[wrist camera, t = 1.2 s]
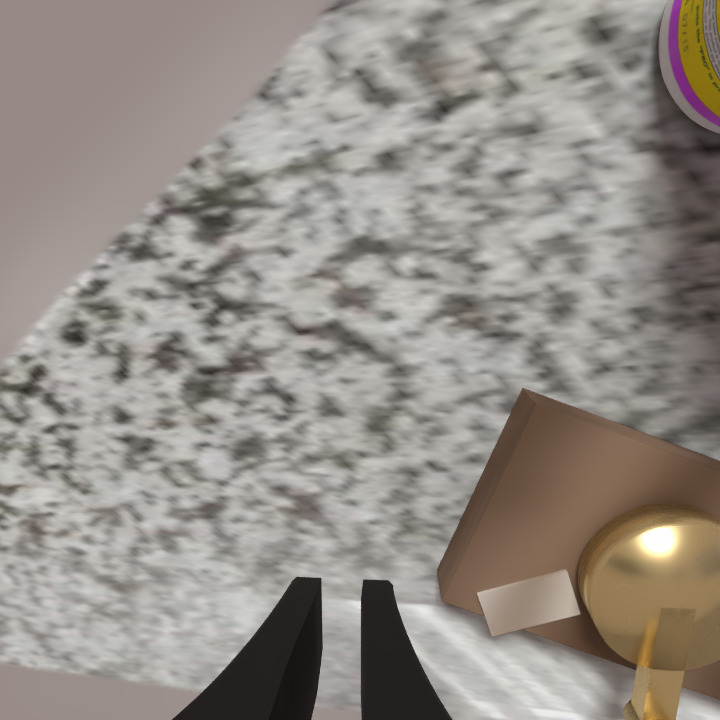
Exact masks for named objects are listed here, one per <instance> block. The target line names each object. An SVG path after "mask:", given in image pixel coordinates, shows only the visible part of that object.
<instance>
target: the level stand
mask: <svg viewBox="0 0 720 720" xmlns="http://www.w3.org/2000/svg"><path fill="white" fill-rule="evenodd" d="M657 503H676V504H684V505H688V506H692V507H695V508H698V509H701V510H703V511H705V512H707V513H709V514H711V515H712V516H714V517H715V518H717V519H718V520H719V521H720V461H718V460H715V459H713V458H710V457H707V456H705V455H702V454H699V453H697V452H694V451H691V450H688V449H686V448H683V447H680V446H678V445H675V444H672V443H670V442H667V441H664V440H661V439H659V438H656V437H653V436H651V435H648V434H645V433H643V432H640V431H637V430H635V429H632V428H629V427H626V426H624V425H621V424H618V423H616V422H613V421H610V420H608V419H605V418H602V417H599V416H597V415H594V414H591V413H589V412H586V411H583V410H581V409H578V408H575V407H572V406H570V405H567V404H564V403H562V402H559V401H556V400H554V399H551V398H548V397H546V396H543V395H540V394H537V393H535V392H532V391H529V390H527V389H524V388H522V391H521V393H520V395H519V397H518V399H517V401H516V403H515V405H514V408H513V410H512V412H511V414H510V416H509V418H508V420H507V422H506V425H505V427H504V429H503V431H502V433H501V435H500V437H499V439H498V442H497V444H496V446H495V448H494V450H493V452H492V454H491V456H490V459H489V461H488V463H487V465H486V467H485V469H484V471H483V474H482V476H481V478H480V480H479V482H478V484H477V486H476V488H475V491H474V493H473V495H472V497H471V499H470V501H469V503H468V505H467V508H466V510H465V512H464V514H463V516H462V518H461V520H460V522H459V525H458V527H457V529H456V531H455V533H454V535H453V537H452V539H451V542H450V544H449V546H448V548H447V550H446V552H445V554H444V556H443V559H442V561H441V563H440V565H439V567H438V569H437V571H438V578H439V585H440V592H441V599H442V601H443V602H446V603H449V604H452V605H454V606H457V607H460V608H463V609H466V610H468V611H471V612H474V613H477V614H480V615H483V616H485V618H486V621H487V623H488V626H489V629H490V632H491V635H492V637H493V636H497V635H501V634H505V633H509V632H513V631H517V630H521V629H522V630H525V631H528V632H530V633H533V634H536V635H539V636H542V637H544V638H547V639H550V640H553V641H556V642H559V643H561V644H564V645H567V646H570V647H573V648H575V649H578V650H581V651H584V652H587V653H590V654H592V655H595V656H598V657H601V658H604V659H606V660H609V661H612V662H615V663H618V664H621V665H623V666H626V667H629V668H632V669H635V670H636V668H637V665H636V664H634V663H632V662H630V661H628V660H626V659H624V658H623V657H621V656H620V655H618V654H617V653H616V652H615V651H614V650H612V649H611V648H610V647H609V645H608V644H607V643H606V642H605V641H604V639H603V638H602V636H601V635H600V633H599V631H598V629H597V627H596V625H595V624H594V622H593V620H592V618H591V616H590V614H589V612H588V610H587V608H586V606H585V604H584V602H583V600H582V598H581V595H580V591H579V586H578V569H579V564H580V560H581V557H582V555H583V552H584V550H585V548H586V546H587V545H588V543H589V542H590V540H591V539H592V538H593V536H594V535H595V534H596V533H597V532H598V531H599V530H600V529H601V528H602V527H603V526H604V525H605V524H607V523H608V522H609V521H611V520H612V519H614V518H615V517H617V516H619V515H621V514H623V513H625V512H627V511H629V510H632V509H634V508H637V507H641V506H645V505H650V504H657ZM682 687H685V688H688V689H691V690H694V691H697V692H699V693H702V694H705V695H708V696H711V697H713V698H716V699H719V700H720V660H719V661H717V662H715V663H713V664H710V665H707V666H704V667H701V668H696V669H691V670H685V671H684V676H683V682H682Z"/></svg>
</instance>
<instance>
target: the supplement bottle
mask: <svg viewBox="0 0 720 720" xmlns="http://www.w3.org/2000/svg"><path fill="white" fill-rule="evenodd" d="M659 61H660V67H661V72H662V76H663V79H664V82H665V84H666V87H667V89H668V91H669V93H670V95H671V96H672V98H673V99H674V101H675V102H676V104H677V105H678V106H679V108H680V109H681V110H682V111H683V112H684V113H685V114H686V115H687V116H688V117H689V118H690V119H691V120H693V121H694V122H696V123H697V124H699V125H700V126H702V127H704V128H706V129H708V130H710V131H713V132H716V133H719V134H720V0H668V1H667V4H666V7H665V10H664V13H663V17H662V21H661V26H660V33H659Z"/></svg>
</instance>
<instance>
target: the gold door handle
mask: <svg viewBox="0 0 720 720" xmlns="http://www.w3.org/2000/svg"><path fill="white" fill-rule="evenodd" d="M578 586H579V591H580V595H581V598H582V600H583V602H584V604H585V606H586V608H587V610H588V612H589V614H590V616H591V618H592V620H593V622H594V624H595V625H596V627H597V629H598V631H599V633H600V635H601V636H602V638H603V639H604V641H605V642H606V643H607V644H608V645H609V647H610V648H611V649H612V650H614V651H615V652H616V653H617V654H618V655H620V656H621V657H623V658H624V659H626V660H628V661H630V662H632V663H634V664H636V665H637V668H636V674H635V681H634V687H633V693H632V700H630V701H629V702H628V703H627V704H626V705H625V707H624V709H623V717H624V719H625V720H676V714H677V709H678V703H679V698H680V693H681V687H682V682H683V676H684V671H685V670H691V669H696V668H701V667H704V666H707V665H710V664H713V663H715V662H717V661H719V660H720V521H719V520H718V519H717V518H715V517H714V516H712V515H711V514H709V513H707V512H705V511H703V510H701V509H698V508H695V507H692V506H688V505H684V504H676V503H657V504H650V505H645V506H641V507H637V508H634V509H632V510H629V511H627V512H625V513H623V514H621V515H619V516H617V517H615V518H614V519H612V520H611V521H609V522H608V523H607V524H605V525H604V526H603V527H602V528H601V529H600V530H599V531H598V532H597V533H596V534H595V535H594V536H593V538H592V539H591V540H590V542H589V543H588V545H587V546H586V548H585V550H584V552H583V555H582V557H581V560H580V564H579V569H578Z"/></svg>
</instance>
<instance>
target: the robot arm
mask: <svg viewBox="0 0 720 720" xmlns="http://www.w3.org/2000/svg"><path fill="white" fill-rule="evenodd" d="M322 649H323V645H322V594H321V578H309V577H296V578H295V579H294V580H293V581H292V582H291V584H290V585H289V587H288V589H287V590H286V592H285V593H284V595H283V596H282V598H281V599H280V601H279V602H278V604H277V605H276V606H275V608H274V609H273V611H272V612H271V613H270V615H269V616H268V617H267V619H266V620H265V621H264V623H263V624H262V625H261V627H260V628H259V629H258V630H257V632H256V633H255V634H254V636H253V637H252V638H251V639H250V641H249V642H248V643H247V644H246V645H245V647H244V648H243V649H242V650H241V651H240V652H239V653H238V655H237V656H236V657H235V658H234V659H233V660H232V662H231V663H230V664H229V665H228V666H227V667H226V668H225V669H224V670H223V671H222V673H221V674H220V675H219V676H218V677H217V678H216V679H215V680H214V681H213V682H212V683H211V684H210V685H209V686H208V687H207V688H206V689H205V690H204V691H203V692H202V693H201V694H200V695H199V696H198V697H197V698H196V699H195V700H194V701H192V702H191V703H190V704H189V705H188V706H187V707H186V708H184V709H183V710H182V711H181V712H180V713H179V714H178V715H177V716H176V717H175V718H173V719H172V720H311V718H312V713H313V709H314V704H315V700H316V695H317V690H318V682H319V674H320V666H321V657H322ZM361 710H362V720H452V718H451V717H450V715H449V714H448V712H447V711H446V709H445V707H444V706H443V704H442V702H441V701H440V699H439V697H438V696H437V694H436V692H435V690H434V689H433V687H432V685H431V683H430V681H429V680H428V678H427V676H426V674H425V672H424V670H423V668H422V666H421V664H420V662H419V660H418V658H417V655H416V653H415V651H414V649H413V647H412V644H411V642H410V640H409V637H408V635H407V632H406V630H405V627H404V625H403V622H402V619H401V616H400V613H399V610H398V607H397V604H396V600H395V596H394V591H393V585H392V584H391V583H390V582H389V581H388V580H363V587H362V596H361Z"/></svg>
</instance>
